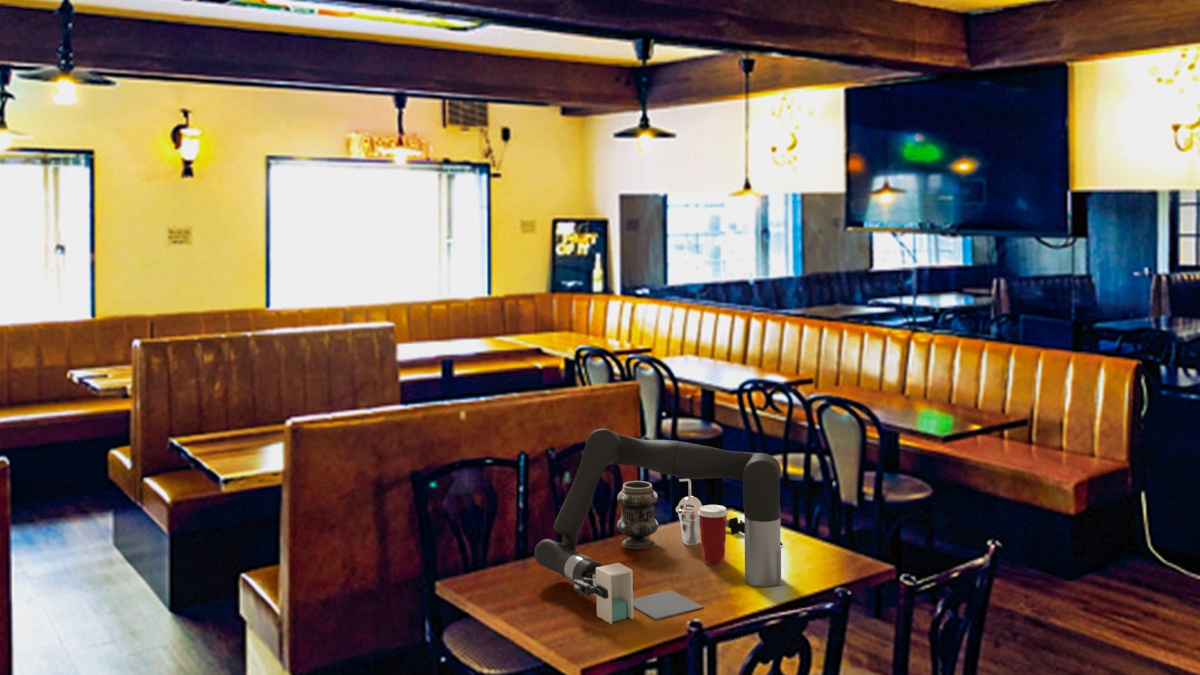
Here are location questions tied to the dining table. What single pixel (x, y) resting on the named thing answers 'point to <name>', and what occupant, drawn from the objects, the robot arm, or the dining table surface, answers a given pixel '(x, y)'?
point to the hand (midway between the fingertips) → (619, 591)
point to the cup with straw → (689, 517)
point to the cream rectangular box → (614, 589)
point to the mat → (664, 604)
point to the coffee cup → (713, 533)
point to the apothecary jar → (637, 514)
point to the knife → (737, 526)
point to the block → (618, 609)
